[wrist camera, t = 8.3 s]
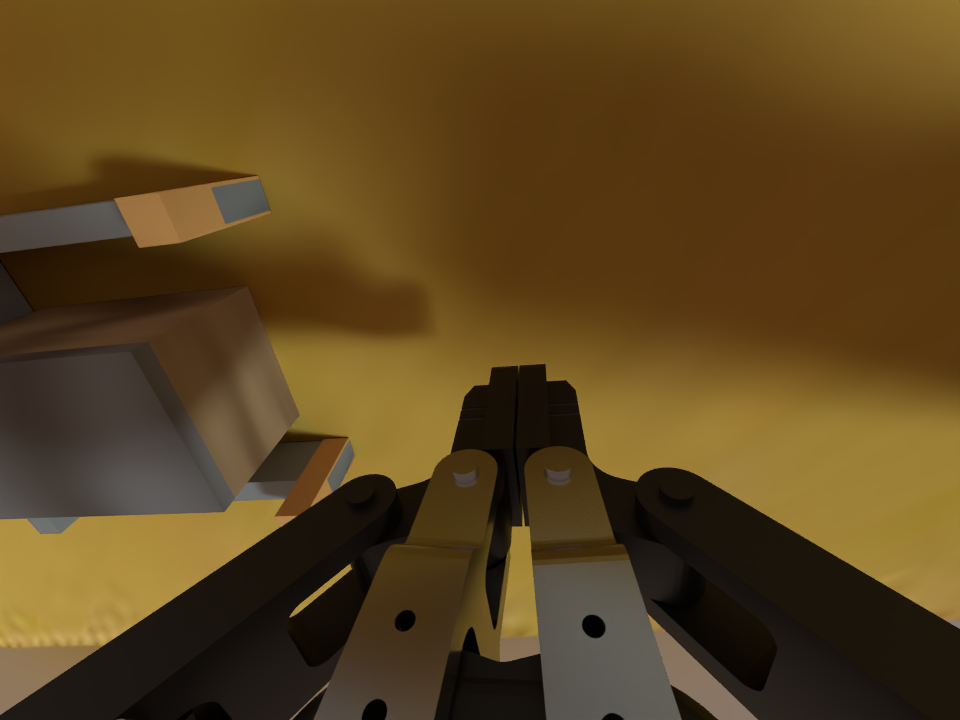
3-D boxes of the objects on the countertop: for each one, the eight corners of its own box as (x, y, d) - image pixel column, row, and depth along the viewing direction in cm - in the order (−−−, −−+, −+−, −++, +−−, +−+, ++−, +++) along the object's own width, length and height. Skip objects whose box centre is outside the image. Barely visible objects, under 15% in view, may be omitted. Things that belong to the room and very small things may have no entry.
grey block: (249, 284, 16) (130, 351, 11) (301, 413, 19) (224, 511, 14) (48, 306, 17) (-140, 375, 12) (124, 424, 20) (-4, 519, 15)
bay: (258, 175, 14) (157, 192, 10) (355, 458, 20) (315, 538, 16) (-53, 220, 15) (-242, 248, 12) (120, 468, 21) (32, 543, 17)
